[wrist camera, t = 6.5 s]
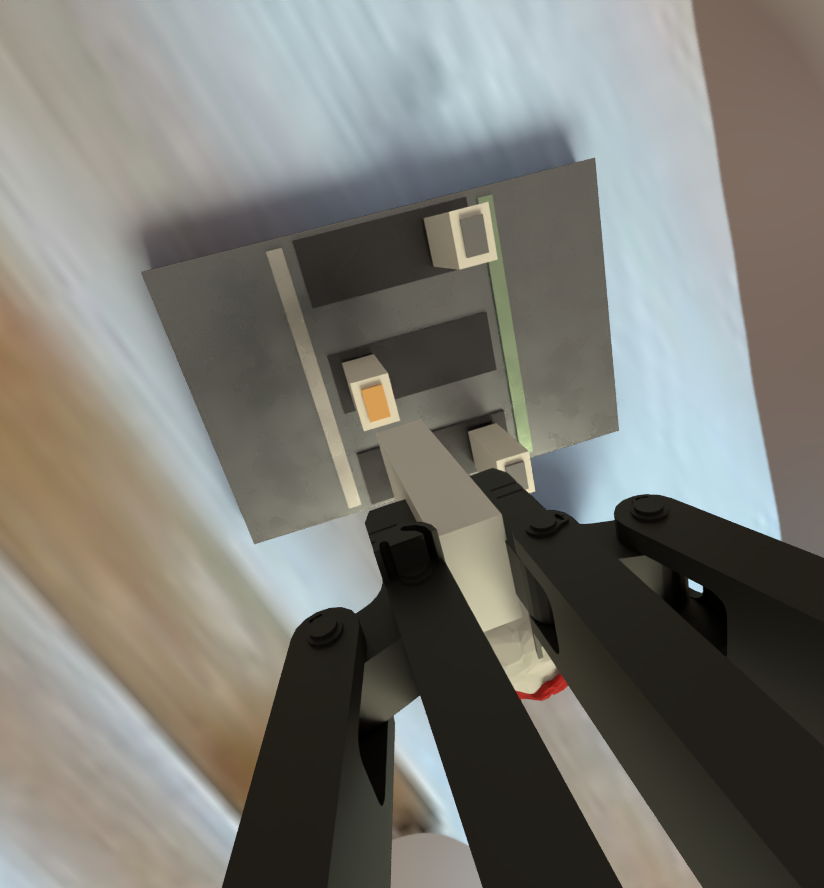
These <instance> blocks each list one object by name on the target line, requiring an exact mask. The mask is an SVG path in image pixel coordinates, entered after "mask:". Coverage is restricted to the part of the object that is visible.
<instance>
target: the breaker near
mask: <svg viewBox="0 0 824 888" xmlns="http://www.w3.org/2000/svg"><path fill="white" fill-rule="evenodd" d="M424 223H425V228H426V232H427V237H428V242H429V247H430V252H431V256H432V261H433V266H434V267H441V268H450V269H458V270H460V269H464V268H468V267H471V266H475V265H479V264H483V263H486V262H490V261H494V260H498V258H497V252H496V246H495V240H494V233H493V227H492V221H491V215H490V209H489V203H488V202H486V203H482V204H478V205H474V206H470V207H466V208H462V209H458V210H454V211H450V212H447V213H443V214H439V215H435V216H431V217H427V218H424Z"/></svg>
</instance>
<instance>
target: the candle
mask: <svg viewBox="0 0 824 888" xmlns="http://www.w3.org/2000/svg"><path fill="white" fill-rule="evenodd" d="M519 601H520V599H519ZM520 606H521V611H522V616H523V617H522V618H519V619H517V620H514V621H511V622H509V623H506V624H503V625H501V626H498V627H496V628H493V629H490V630H488V631H485V632H484V634H485V636H486V638H487V639H488V641H489V643H490V645H491V647H492V649H493V650H494V652H495V654H496V656H497V658H498V660H499V661H500V663H501V665H502V667H503V669H504V671H505V672H506V674H507V676H508V678H509V680H510V682H511V683H512V685H513V687H514V689H515V691H516V693H517V695H518V696H519V698H520V700H521V699H532V700H540V701H542V700H545V699H547V698H549V697H550V696H551V695H552V694H557V693H559V692H561V691H563V690H564V689H565V688H566V687H567V686H568V684H567V683H566V681H565V680H564V678H563V677H562V675H561V674H560V672H559V671H558V669H557V668H556V666H555V664H554V663H553V661H552V660H551V658H550V657H549V655H548V654H547V652H546V651H545V649H544V648H543V646H542V653H543V658H541V659H538V656H537V653H536V649H535V644H534V639H533V634H532V629H531V624H530V619H529V614H528V611H527V609H526V608H525V606H524V605H523V603H522V602H521V601H520Z"/></svg>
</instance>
